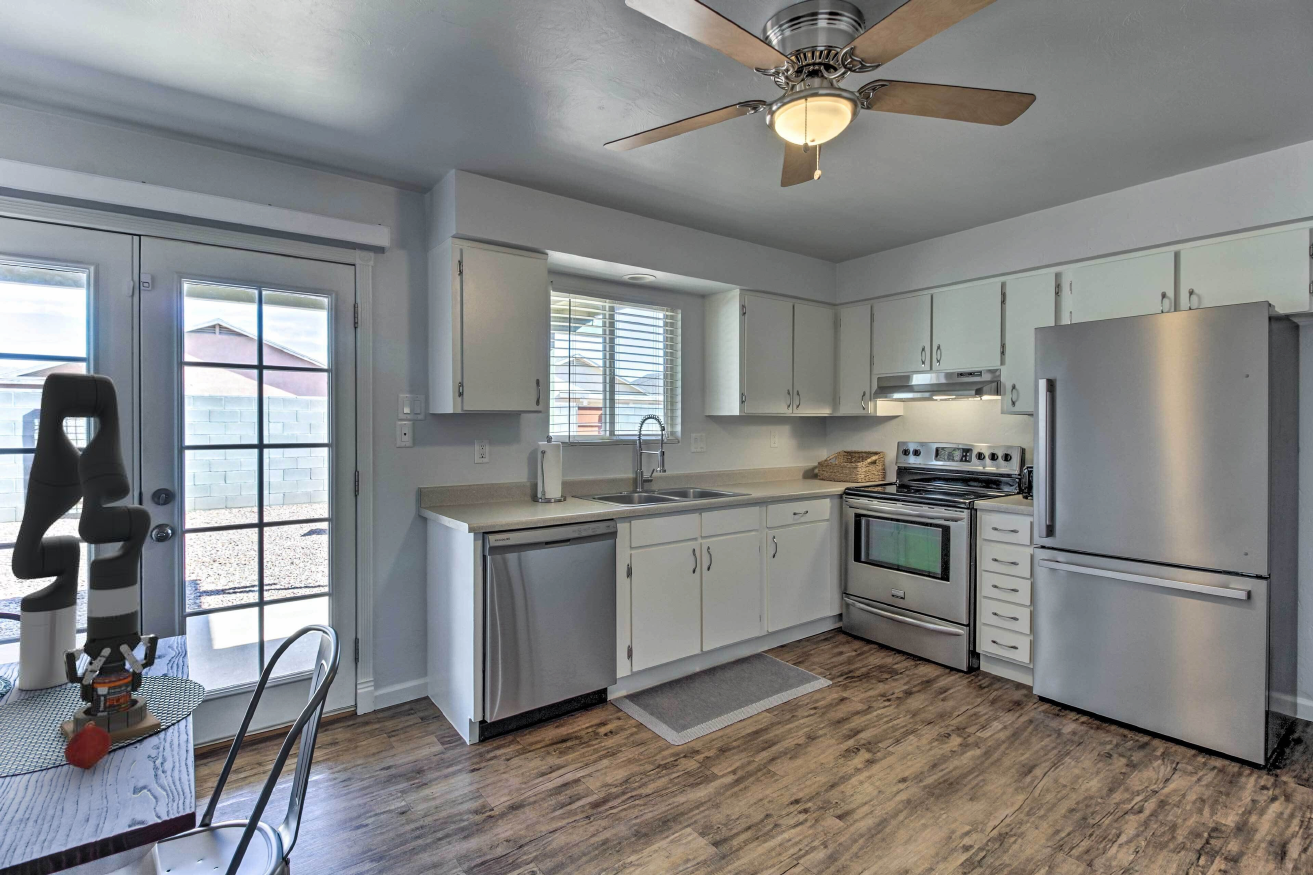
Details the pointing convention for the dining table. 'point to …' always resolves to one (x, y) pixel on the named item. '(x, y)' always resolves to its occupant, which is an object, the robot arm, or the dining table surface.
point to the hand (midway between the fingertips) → (111, 696)
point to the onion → (88, 746)
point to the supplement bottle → (111, 689)
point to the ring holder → (115, 721)
